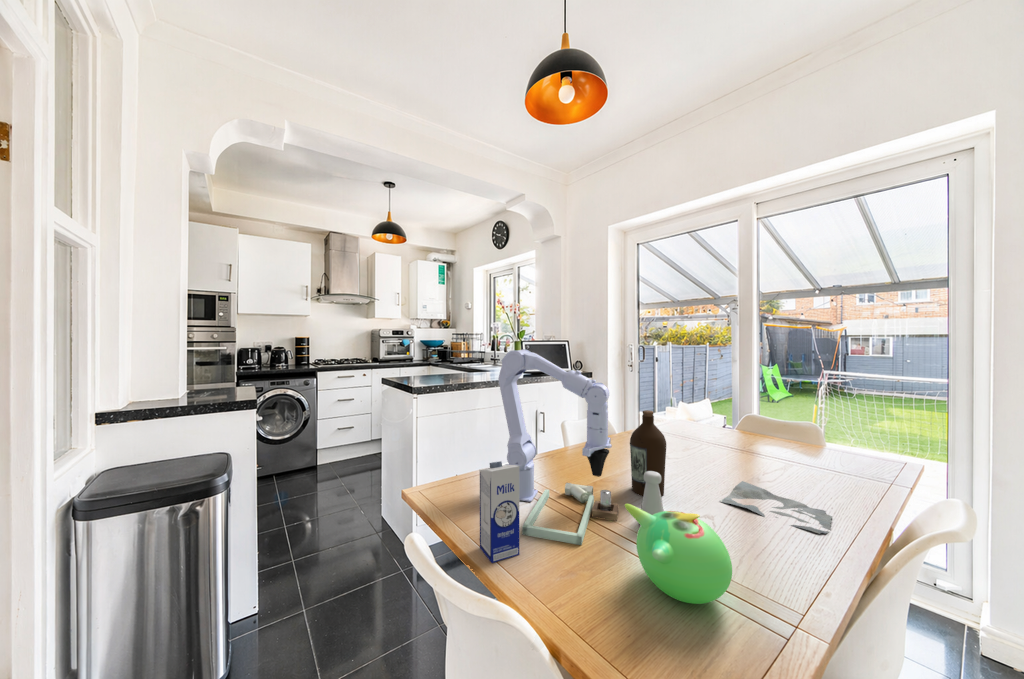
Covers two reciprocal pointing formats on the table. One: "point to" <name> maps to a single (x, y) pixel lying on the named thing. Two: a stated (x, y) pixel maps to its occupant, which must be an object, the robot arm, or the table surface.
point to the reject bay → (552, 533)
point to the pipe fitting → (579, 491)
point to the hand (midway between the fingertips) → (596, 475)
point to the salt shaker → (652, 493)
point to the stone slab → (754, 492)
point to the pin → (605, 500)
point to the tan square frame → (605, 512)
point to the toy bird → (682, 555)
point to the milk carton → (499, 511)
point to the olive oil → (647, 453)
